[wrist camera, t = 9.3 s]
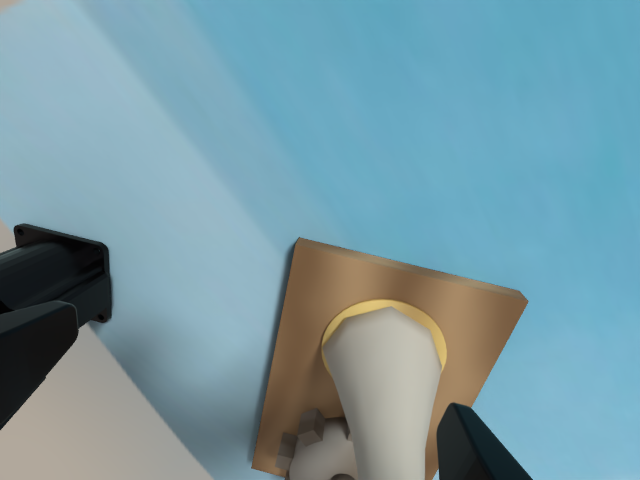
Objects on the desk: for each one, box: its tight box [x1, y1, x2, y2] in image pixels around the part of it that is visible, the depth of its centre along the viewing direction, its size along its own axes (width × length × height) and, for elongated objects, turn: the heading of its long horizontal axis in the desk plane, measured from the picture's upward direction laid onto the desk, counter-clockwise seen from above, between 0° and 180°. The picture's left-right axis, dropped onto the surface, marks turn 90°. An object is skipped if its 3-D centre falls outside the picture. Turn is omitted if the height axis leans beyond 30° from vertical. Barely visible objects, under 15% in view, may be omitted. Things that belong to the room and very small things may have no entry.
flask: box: [322, 306, 442, 480], centre depth 16 cm, size 7×7×10 cm
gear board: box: [251, 237, 529, 480], centre depth 22 cm, size 14×22×4 cm, turn 168°
